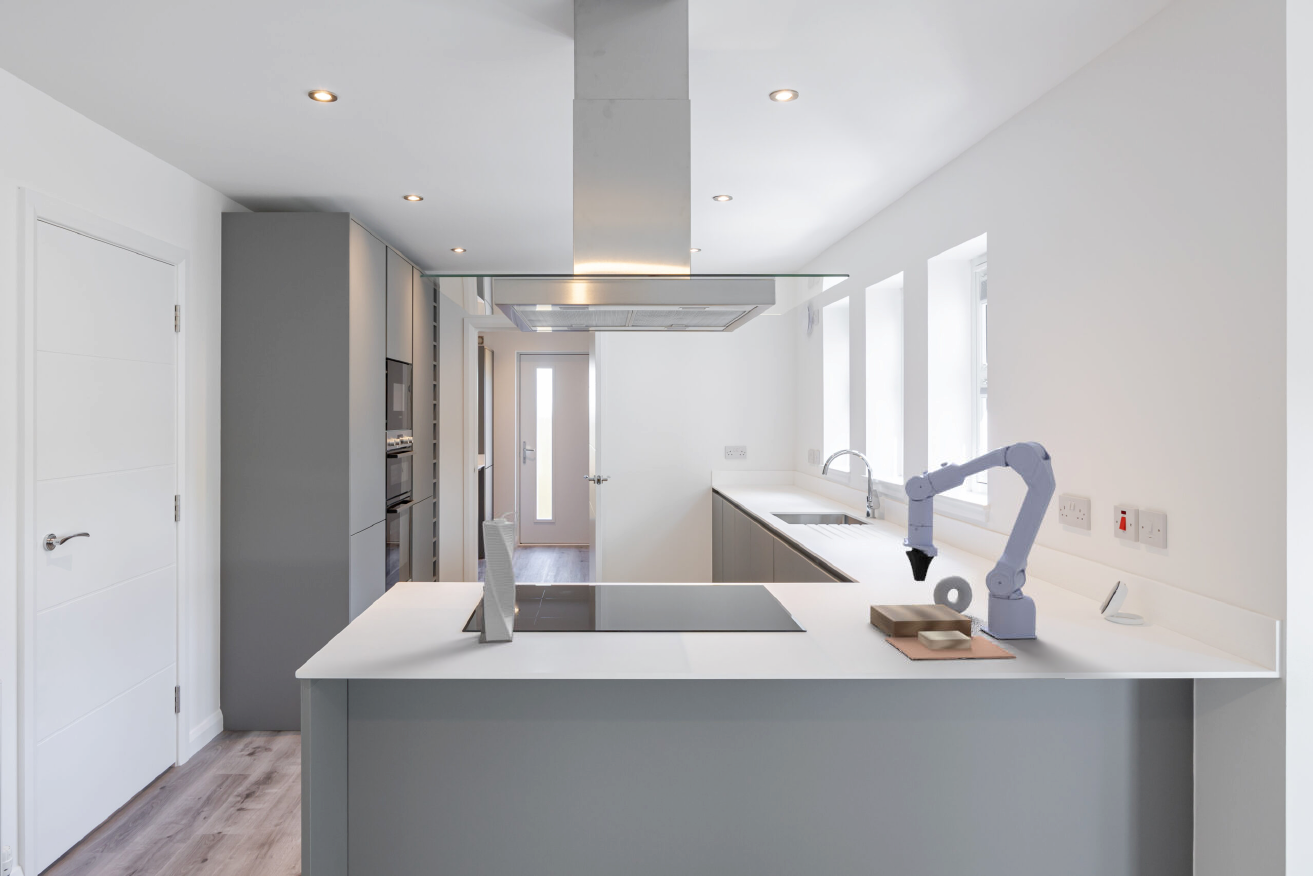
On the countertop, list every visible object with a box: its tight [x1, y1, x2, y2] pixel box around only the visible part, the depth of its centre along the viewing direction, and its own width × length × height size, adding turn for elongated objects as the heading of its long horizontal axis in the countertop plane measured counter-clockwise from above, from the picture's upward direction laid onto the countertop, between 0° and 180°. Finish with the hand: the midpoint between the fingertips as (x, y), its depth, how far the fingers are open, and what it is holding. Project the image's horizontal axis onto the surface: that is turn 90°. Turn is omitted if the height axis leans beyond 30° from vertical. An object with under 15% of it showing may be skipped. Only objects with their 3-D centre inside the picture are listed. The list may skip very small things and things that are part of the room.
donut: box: [932, 574, 973, 614], centre depth 188 cm, size 10×4×10 cm, turn 99°
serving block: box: [869, 603, 973, 638], centre depth 175 cm, size 18×14×4 cm
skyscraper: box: [478, 510, 520, 644], centre depth 165 cm, size 8×8×28 cm
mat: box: [884, 635, 1016, 661], centre depth 160 cm, size 22×14×1 cm, turn 95°
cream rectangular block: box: [918, 631, 971, 649], centre depth 162 cm, size 9×6×2 cm, turn 94°
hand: (919, 580), depth 184 cm, fingers closed
